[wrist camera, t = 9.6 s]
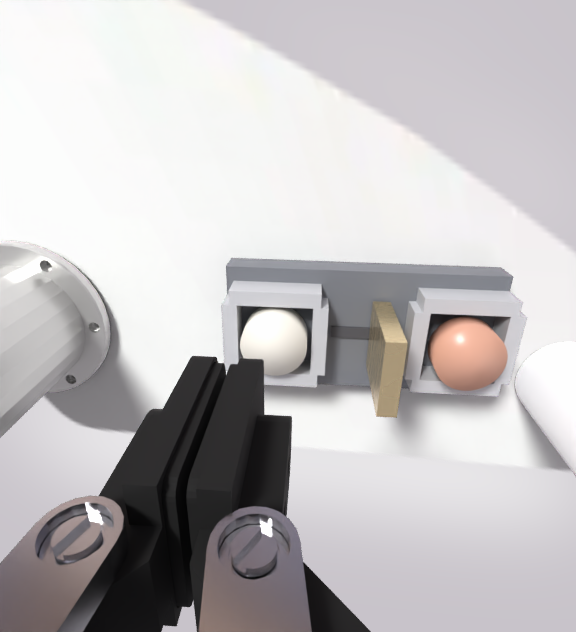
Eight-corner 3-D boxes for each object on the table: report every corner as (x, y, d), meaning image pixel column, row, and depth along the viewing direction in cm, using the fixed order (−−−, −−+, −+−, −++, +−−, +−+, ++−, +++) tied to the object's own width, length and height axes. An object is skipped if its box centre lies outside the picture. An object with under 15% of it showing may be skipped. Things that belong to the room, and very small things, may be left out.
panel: (235, 366, 34) (225, 394, 31) (231, 258, 31) (219, 275, 27) (482, 378, 33) (502, 408, 30) (508, 267, 30) (535, 287, 26)
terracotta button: (422, 372, 30) (429, 389, 28) (432, 314, 28) (441, 327, 26) (487, 376, 29) (499, 392, 28) (502, 317, 28) (515, 331, 26)
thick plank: (366, 365, 31) (376, 416, 25) (372, 301, 29) (385, 342, 23) (382, 365, 31) (396, 417, 25) (390, 302, 29) (407, 343, 23)
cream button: (245, 359, 31) (240, 374, 29) (244, 303, 29) (239, 314, 27) (306, 362, 31) (305, 377, 29) (308, 305, 29) (308, 317, 27)
